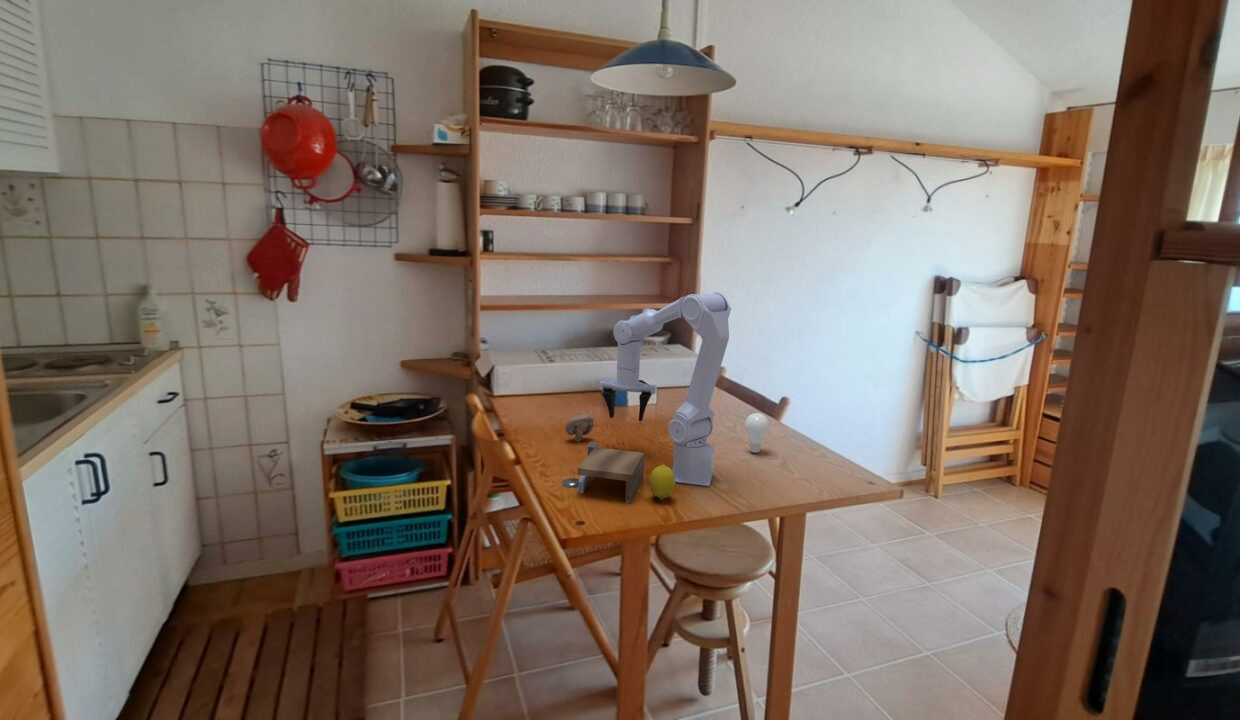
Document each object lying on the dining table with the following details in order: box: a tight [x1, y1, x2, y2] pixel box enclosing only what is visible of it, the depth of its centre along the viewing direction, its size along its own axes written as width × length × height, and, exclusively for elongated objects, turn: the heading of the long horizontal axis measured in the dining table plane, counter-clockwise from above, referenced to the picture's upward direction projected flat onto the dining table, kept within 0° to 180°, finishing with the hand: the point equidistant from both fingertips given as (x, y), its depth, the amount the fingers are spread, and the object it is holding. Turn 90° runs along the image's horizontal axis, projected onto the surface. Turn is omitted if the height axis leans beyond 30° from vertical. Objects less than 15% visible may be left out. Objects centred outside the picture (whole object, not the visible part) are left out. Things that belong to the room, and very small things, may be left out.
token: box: [562, 477, 580, 489], centre depth 146 cm, size 4×4×1 cm
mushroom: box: [565, 413, 595, 442], centre depth 174 cm, size 8×6×8 cm
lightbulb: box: [744, 412, 770, 454], centre depth 170 cm, size 6×6×11 cm
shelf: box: [577, 447, 645, 504], centre depth 144 cm, size 12×14×6 cm
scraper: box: [577, 441, 599, 494], centre depth 151 cm, size 2×20×5 cm, turn 174°
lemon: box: [649, 464, 676, 501], centre depth 139 cm, size 6×6×8 cm
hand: (626, 418), depth 166 cm, fingers open, 7 cm apart
